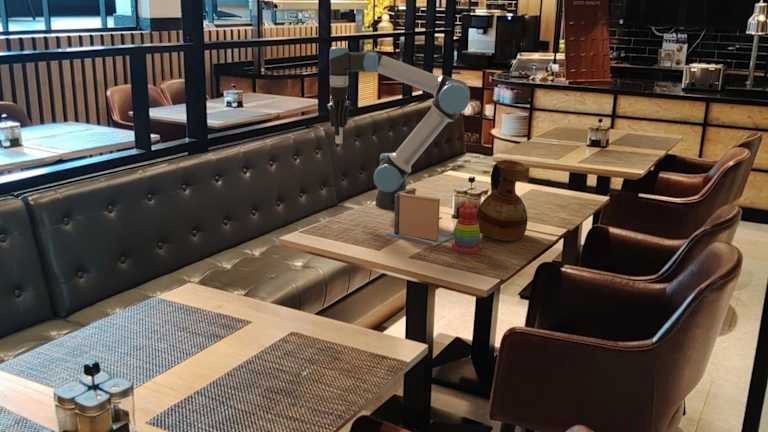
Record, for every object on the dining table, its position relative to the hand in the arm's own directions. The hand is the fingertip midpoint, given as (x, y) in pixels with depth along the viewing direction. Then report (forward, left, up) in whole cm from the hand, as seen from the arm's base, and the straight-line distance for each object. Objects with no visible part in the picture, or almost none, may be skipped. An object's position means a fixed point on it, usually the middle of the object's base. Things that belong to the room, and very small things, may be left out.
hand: (339, 142), depth 307 cm
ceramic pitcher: (-14, +70, -30) cm, 77 cm away
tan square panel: (+9, +47, -29) cm, 56 cm away
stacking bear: (+8, +68, -30) cm, 75 cm away
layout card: (+6, +46, -29) cm, 55 cm away
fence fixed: (+5, +38, -29) cm, 48 cm away
